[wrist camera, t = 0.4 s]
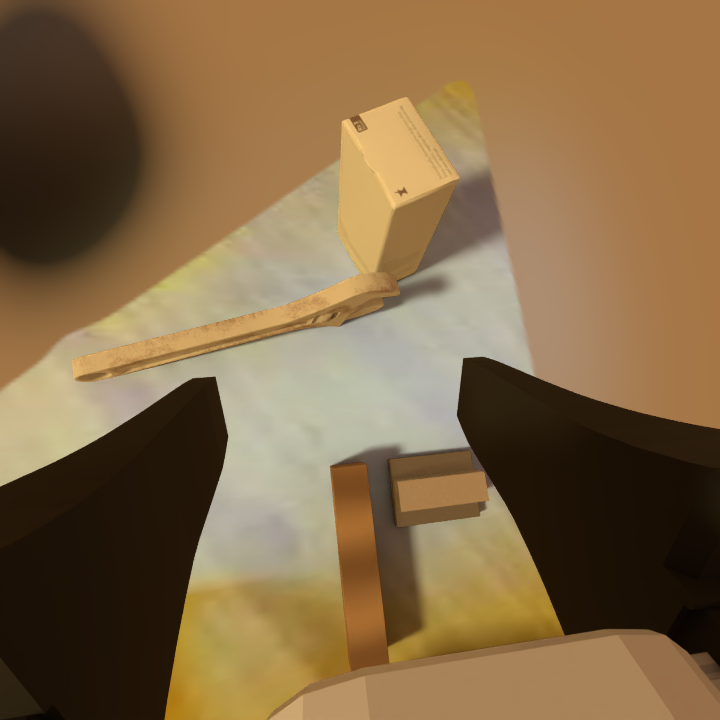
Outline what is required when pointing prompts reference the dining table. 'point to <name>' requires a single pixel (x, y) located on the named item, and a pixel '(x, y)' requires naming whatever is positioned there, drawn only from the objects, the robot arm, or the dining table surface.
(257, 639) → the dining table surface
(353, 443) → the dining table surface
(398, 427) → the dining table surface
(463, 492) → the ridge
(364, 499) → the walnut bar
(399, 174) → the skincare box
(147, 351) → the wrench
